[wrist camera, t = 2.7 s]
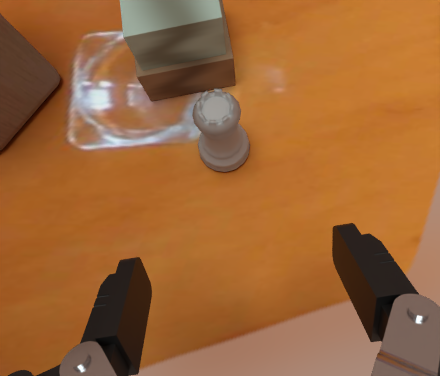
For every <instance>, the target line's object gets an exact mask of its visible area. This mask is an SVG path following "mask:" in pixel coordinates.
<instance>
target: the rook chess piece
mask: <svg viewBox="0 0 440 376" xmlns="http://www.w3.org/2000/svg"><path fill="white" fill-rule="evenodd" d="M240 114H241V109H240V106H239V102H238V101H237V100H236V99H235V98H234V97H233V96H232V95H230V94H229V93H226V92H222V89H214V92H210V93H208V92H207V91H206V92H204V93H203V94H201V98H199V100H198V101H197V103H196V104H195V106H194V109H193V119H194V123H195V125H196V126H197V127H198V128H199V130H200V131H201V132H202V133H201V134H200V137H199V143H198V148H199V152H200V156H201V159H202V160H203V162H204V163H205V164H206V166H208V167H210V168H211V169H213V170H215V171H222V172H227V171H231V170H235V169H236V168H238V167H239V166H240V165H242V164H243V163H244V162H245V160H246V158H247V157H248V155H249V148H250V144H249V140H248V136H247V133H246V132H245V130H244V129H243V128H242V127H241V126H240V125H239V124H238V122H239V120H240Z"/></svg>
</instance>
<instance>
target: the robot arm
mask: <svg viewBox="0 0 440 376" xmlns="http://www.w3.org/2000/svg"><path fill="white" fill-rule="evenodd" d="M332 255H333V261H334V265H335V268H336V270H337V272H338V274H339V276H340V278H341V281H342V283H343V285H344V287H345V289H346V291H347V293H348V295H349V297H350V299H351V301H352V303H353V305H354V307H355V310H356V311H357V314H358V316H359V318H360V320H361V322H362V324H363V326H364V328H365V330H366V333H367V335H368V337H369V339H370V341H371V342H375V341H382V345H381V349H380V352H379V353H378V354H377V357H376V361H375V364H374V368H373V371H372V374H371V376H440V307H439V306H438V305H437V304H436V303H435V302H434V301H432V300H430V299H429V298H427V297H424V296H422V295H419V293H418V292H417V291H416V290H415V288H414V287H413V286H412V284H411V283H410V281H409V280H408V278H407V277H406V276H405V274H404V273H403V271H402V270H401V269H400V267H399V266H398V264H397V263H396V262H394V259H393V257H392V256H391V255H390V253H388V250H387V249H386V248H385V246H384V245H383V244H382V242H381V241H380V240H378V239H377V238H375V237H374V236H372V235H371V234H364V235H361V233H360V232H359V230H358V229H357V227H356V226H355V224H353V223H350V224H343V225H337V226H334V227H333V247H332ZM151 297H152V288H151V283H150V280H149V278H148V275H147V273H146V271H145V268H144V266H143V263H142V261H141V259H140V258H139V257H136V258H130V259H124V260H120V262H119V264H118V267H117V270H116V274H110V275H109V276H108V277H107V278H106V279H105V281H104V282H103V283H102V284H101V286H100V289H99V292H98V295H97V298H96V300H95V303H94V308H93V309H92V312H91V315H90V317H89V320H88V323H87V326H86V329H85V331H84V334H83V337H82V340H81V342H80V344H79V345H77V346H75V347H74V348H73V349H71V350H70V351H69V352H68V353H67V355H66V356H65V357H64V359H63V361H62V362H61V364H60V365H58V366H56V367H54V368H52V369H50V370H48V371H45V372H43V373H41V374H39V375H37V376H129V375H136V374H138V373H139V367H140V361H141V355H142V349H143V344H144V338H145V332H146V326H147V321H148V315H149V309H150V303H151ZM8 376H33V374H32V373H31V372H29V371H27V370H20V371H16V372H14V373H12V374H10V375H8Z"/></svg>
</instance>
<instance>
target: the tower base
mask: <svg viewBox="0 0 440 376" xmlns="http://www.w3.org/2000/svg"><path fill="white" fill-rule="evenodd" d="M120 6H121V16H122V26H123V36H124V39H125V41H126V42H127V44H128V46H129V48H130V50H131V51H132V53H133V55H134V57H135V64H136V74H137V78H138V80H139V81H140V83H141V85H142V86H143V88H144V90H145V91H146V93H147V95H148V96H149V98H150V100H151V101H155V100H160V99H165V98H171V97H176V96H181V95H186V94H192V93H197V92H202V91H207V90H212V89H218V88H223V87H228V86H233V85H235V73H234V60H233V54H232V49H231V44H230V38H229V33H228V28H227V23H226V18H225V12H224V7H223V2H222V0H120Z"/></svg>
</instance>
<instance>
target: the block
mask: <svg viewBox="0 0 440 376" xmlns="http://www.w3.org/2000/svg"><path fill="white" fill-rule="evenodd" d="M59 82H60V77H59V74H58V73H57V71H56V69H55V68H54V67H53V66H52V65H51V64H50V63H49V62H48V61H47V60H46V59H45V58H44V57H43V56H42V55H41V54H40V53H39V52H38V51H37V50H36V49H35V48H34V47H33V46H32V45H31V44H30V43H29V42H28V41H27V40H26V39H25V38H24V37H23V36H22V35H21V34H20V33H19V32H18V31H17V30H16V29H15V28H14V27H13V26H12V25H11V24H10V23H9V22H8V21H7V20H6V19H5V18H4V17H3V16H2V15H1V14H0V150H2V149H3V148H4V147H5V146H6V145H7V144H8V142H9V141H10V140H11V139H12V138H13V137H14V135H15V134H16V133H17V132H18V131H19V130H20V129H21V127H22V126H23V125H24V124H25V123H26V122H27V120H28V119H29V118H30V117H31V116H32V115H33V114H34V112H35V111H36V110H37V109H38V108H39V107H40V105H41V104H42V103H43V102H44V101H45V100H46V99H47V97H48V96H49V95H50V94H51V93H52V92H53V90H54V89H55V88H56V87H57V86H58V84H59Z"/></svg>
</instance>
